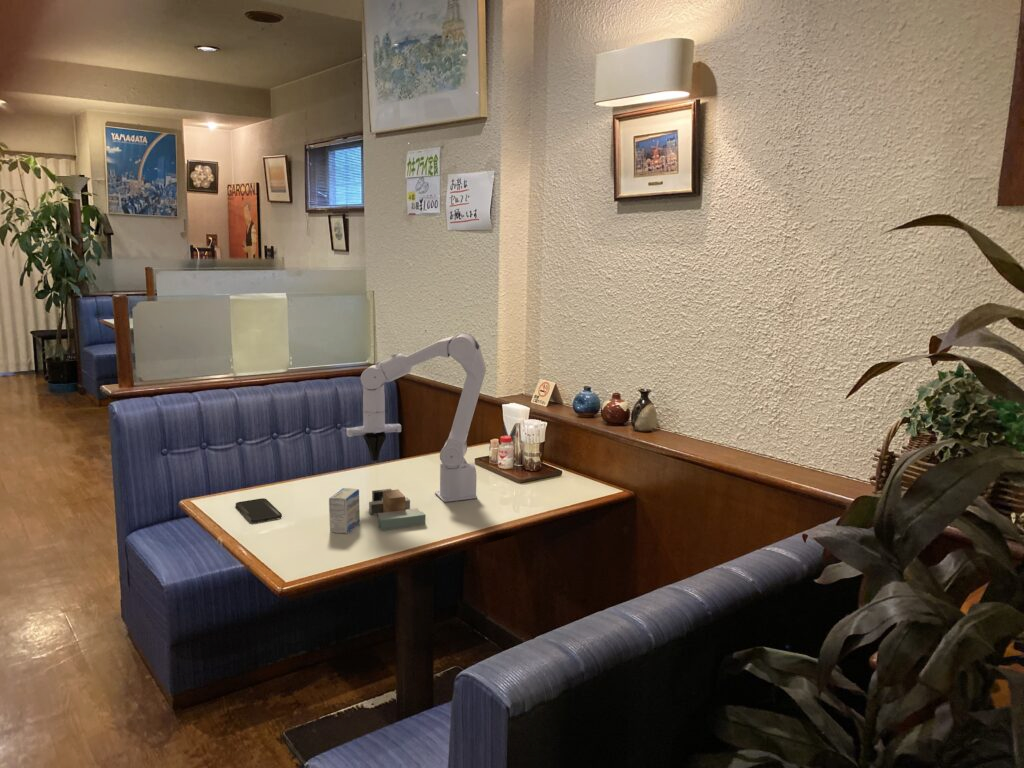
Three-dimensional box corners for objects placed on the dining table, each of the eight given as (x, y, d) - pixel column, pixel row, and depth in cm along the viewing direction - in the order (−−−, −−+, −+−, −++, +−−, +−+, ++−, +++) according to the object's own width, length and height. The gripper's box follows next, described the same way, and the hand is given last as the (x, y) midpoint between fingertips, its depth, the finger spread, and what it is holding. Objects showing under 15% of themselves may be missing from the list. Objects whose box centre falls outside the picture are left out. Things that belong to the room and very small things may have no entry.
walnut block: (398, 511, 195) (398, 489, 194) (405, 519, 190) (405, 496, 189) (382, 513, 194) (382, 491, 192) (389, 521, 188) (389, 498, 187)
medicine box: (347, 534, 179) (346, 499, 178) (329, 532, 180) (328, 497, 179) (360, 522, 187) (359, 488, 185) (343, 521, 188) (342, 487, 186)
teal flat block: (419, 517, 191) (419, 508, 191) (425, 524, 187) (425, 514, 186) (375, 523, 187) (375, 513, 186) (381, 530, 182) (381, 520, 182)
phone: (264, 497, 201) (283, 514, 189) (265, 501, 201) (283, 519, 189) (233, 502, 197) (250, 520, 184) (234, 506, 197) (250, 525, 185)
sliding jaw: (399, 498, 204) (399, 487, 204) (410, 509, 196) (410, 498, 196) (362, 503, 200) (362, 491, 200) (371, 514, 192) (371, 502, 192)
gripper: (351, 416, 198) (351, 466, 200) (404, 411, 204) (405, 460, 207) (344, 410, 204) (344, 459, 206) (396, 406, 210) (396, 454, 213)
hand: (374, 459), depth 207 cm, fingers closed
